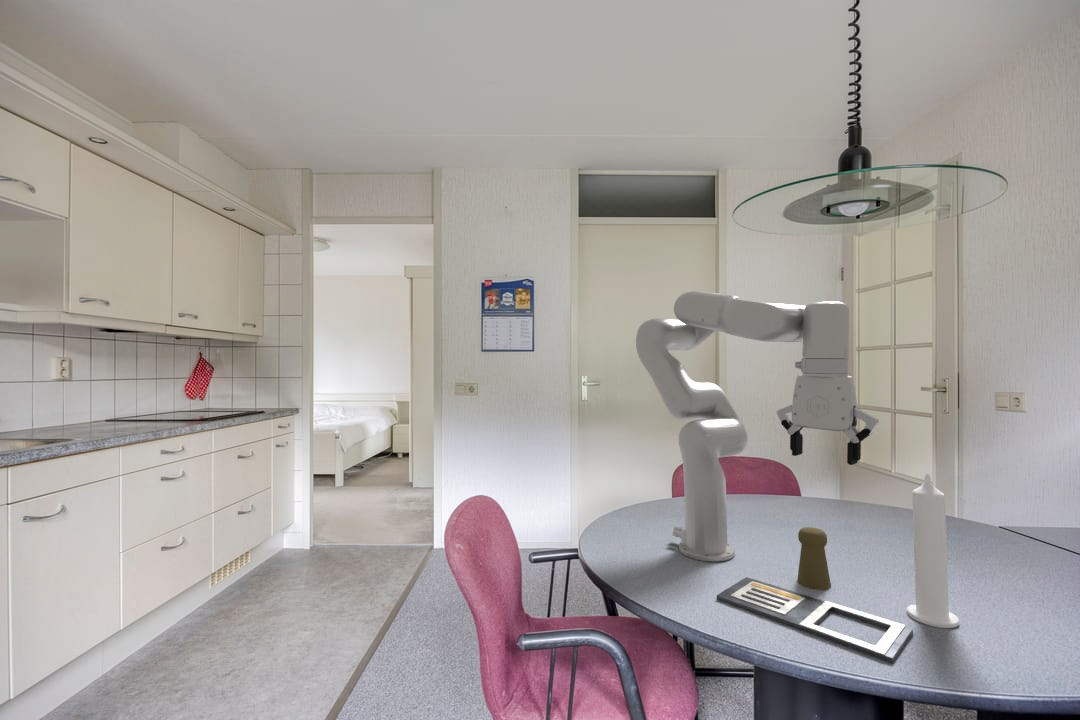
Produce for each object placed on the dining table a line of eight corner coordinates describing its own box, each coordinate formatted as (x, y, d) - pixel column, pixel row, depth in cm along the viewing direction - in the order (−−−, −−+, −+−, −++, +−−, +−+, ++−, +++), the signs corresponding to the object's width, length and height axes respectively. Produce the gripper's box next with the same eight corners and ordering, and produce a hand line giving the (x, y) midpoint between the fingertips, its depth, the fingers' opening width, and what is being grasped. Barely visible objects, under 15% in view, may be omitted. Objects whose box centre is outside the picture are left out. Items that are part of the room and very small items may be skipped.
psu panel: (716, 599, 94) (716, 593, 94) (746, 580, 102) (746, 575, 102) (892, 663, 73) (892, 656, 73) (912, 633, 81) (912, 626, 81)
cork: (800, 574, 104) (799, 522, 105) (833, 582, 101) (831, 527, 101) (794, 584, 100) (792, 530, 100) (828, 592, 96) (826, 535, 96)
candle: (959, 616, 86) (954, 472, 86) (958, 633, 81) (953, 479, 81) (909, 604, 91) (904, 467, 91) (904, 619, 85) (900, 474, 86)
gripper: (769, 367, 97) (768, 454, 97) (871, 370, 84) (869, 470, 84) (786, 366, 102) (786, 449, 102) (885, 369, 88) (884, 464, 89)
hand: (823, 459), depth 93 cm, fingers open, 9 cm apart
